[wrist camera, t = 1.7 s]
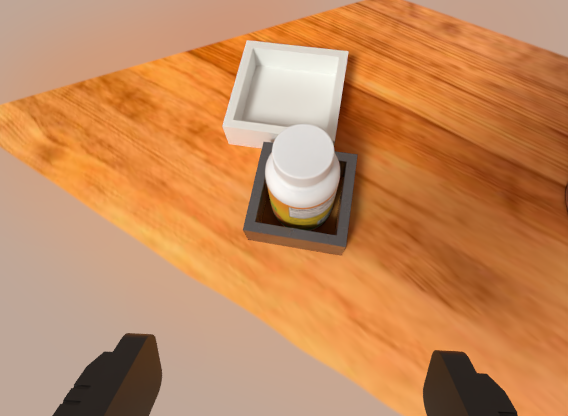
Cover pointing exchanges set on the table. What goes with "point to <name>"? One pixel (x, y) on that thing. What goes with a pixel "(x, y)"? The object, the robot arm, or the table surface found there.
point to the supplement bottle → (302, 176)
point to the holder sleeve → (297, 236)
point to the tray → (284, 92)
